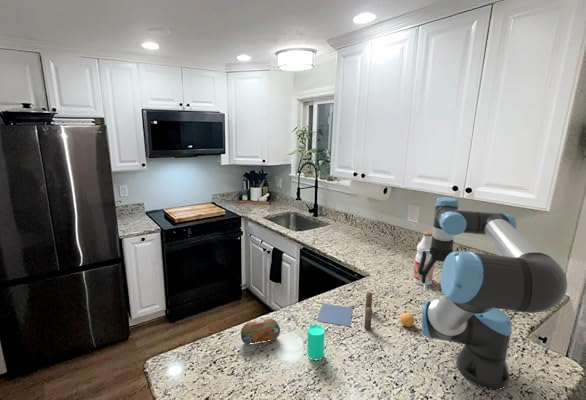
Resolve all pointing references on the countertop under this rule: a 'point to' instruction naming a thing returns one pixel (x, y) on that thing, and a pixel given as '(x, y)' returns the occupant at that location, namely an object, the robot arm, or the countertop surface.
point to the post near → (368, 318)
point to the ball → (407, 319)
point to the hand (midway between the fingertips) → (436, 291)
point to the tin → (260, 331)
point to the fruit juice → (425, 245)
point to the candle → (315, 341)
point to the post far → (368, 300)
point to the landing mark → (335, 314)
